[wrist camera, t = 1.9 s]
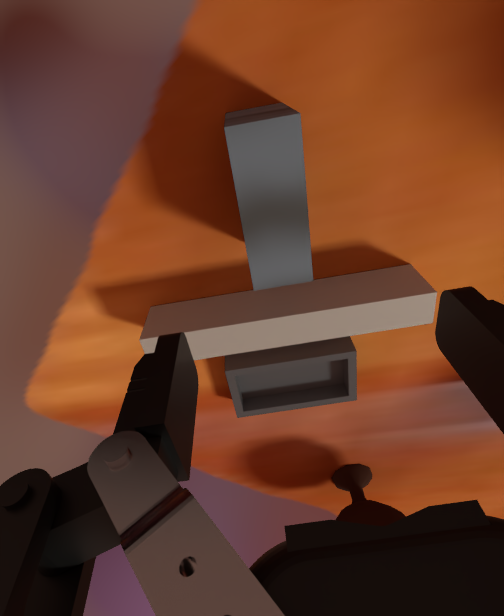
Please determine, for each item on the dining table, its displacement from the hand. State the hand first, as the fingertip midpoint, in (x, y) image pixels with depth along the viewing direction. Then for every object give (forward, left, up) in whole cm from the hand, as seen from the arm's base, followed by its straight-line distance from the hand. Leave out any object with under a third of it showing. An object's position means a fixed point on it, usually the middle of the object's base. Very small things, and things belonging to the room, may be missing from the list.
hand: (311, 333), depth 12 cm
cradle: (-15, +13, -20) cm, 28 cm away
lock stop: (0, 0, -20) cm, 20 cm away
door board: (-8, +7, -20) cm, 23 cm away
